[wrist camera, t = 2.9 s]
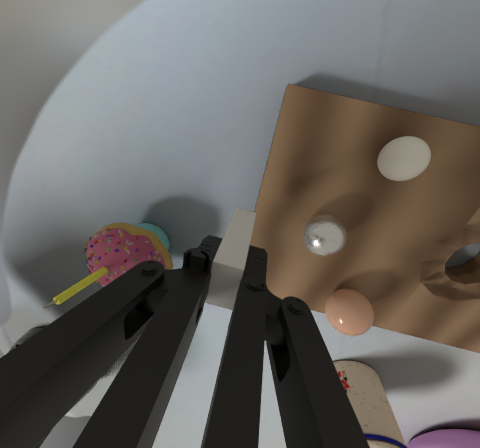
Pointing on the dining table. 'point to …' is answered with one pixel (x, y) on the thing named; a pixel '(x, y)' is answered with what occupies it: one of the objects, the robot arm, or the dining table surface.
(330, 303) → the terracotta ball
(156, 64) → the dining table surface
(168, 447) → the dining table surface
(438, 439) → the teapot
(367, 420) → the teacup with lid
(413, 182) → the wooden board
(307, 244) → the steel ball
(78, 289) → the cupcake
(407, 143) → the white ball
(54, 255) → the dining table surface
